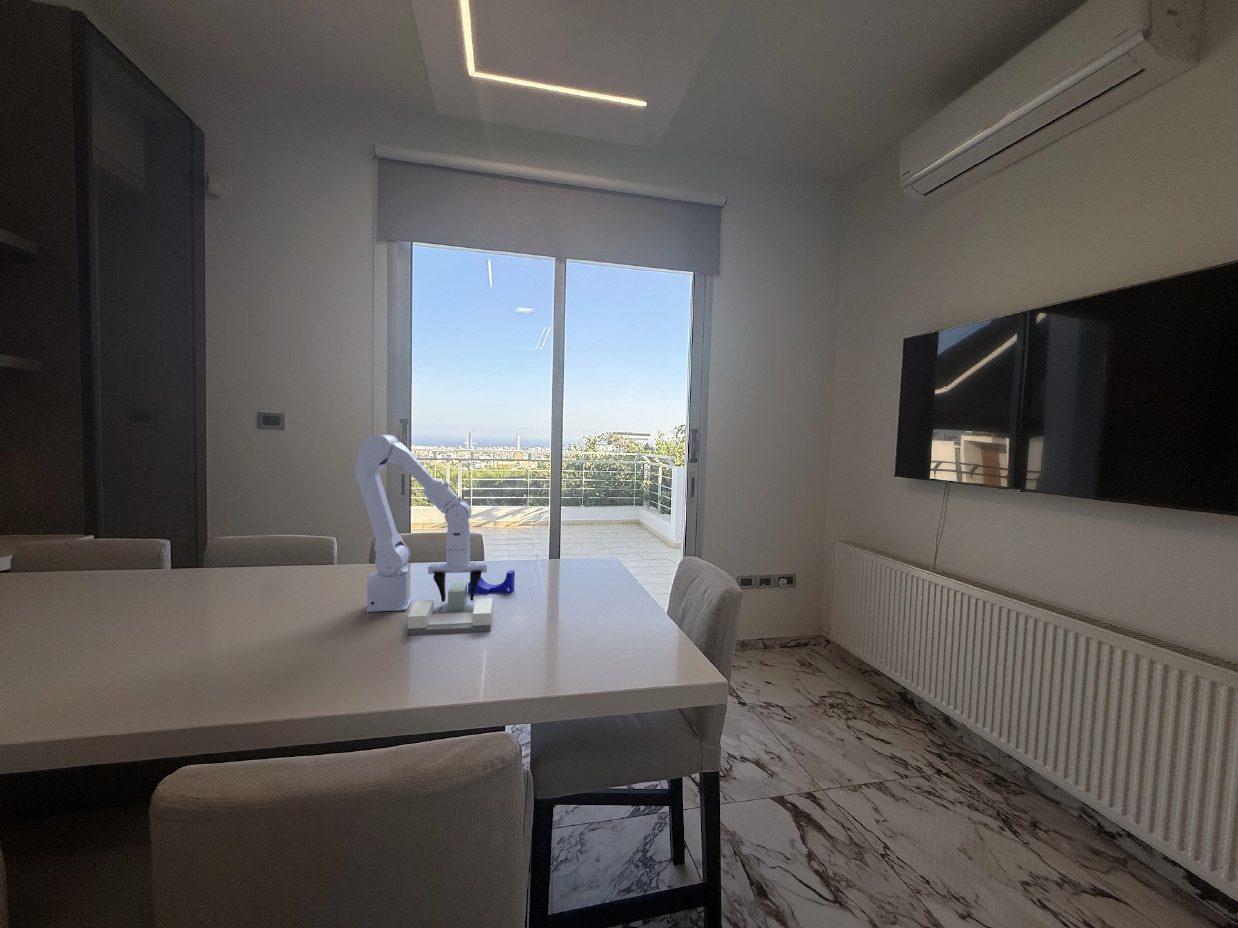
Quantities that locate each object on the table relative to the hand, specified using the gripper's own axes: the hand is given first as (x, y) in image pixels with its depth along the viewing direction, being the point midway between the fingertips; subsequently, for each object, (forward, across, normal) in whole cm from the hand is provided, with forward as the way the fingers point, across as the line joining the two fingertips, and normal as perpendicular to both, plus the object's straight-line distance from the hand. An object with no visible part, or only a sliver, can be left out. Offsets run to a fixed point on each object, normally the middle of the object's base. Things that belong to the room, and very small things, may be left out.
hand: (457, 599), depth 136 cm
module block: (+2, 0, 0) cm, 2 cm away
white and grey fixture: (+1, 0, -13) cm, 13 cm away
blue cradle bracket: (+2, +8, +11) cm, 14 cm away
